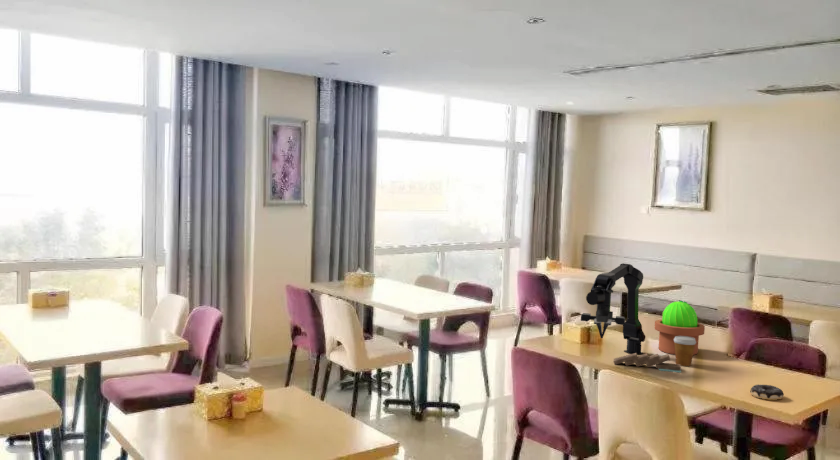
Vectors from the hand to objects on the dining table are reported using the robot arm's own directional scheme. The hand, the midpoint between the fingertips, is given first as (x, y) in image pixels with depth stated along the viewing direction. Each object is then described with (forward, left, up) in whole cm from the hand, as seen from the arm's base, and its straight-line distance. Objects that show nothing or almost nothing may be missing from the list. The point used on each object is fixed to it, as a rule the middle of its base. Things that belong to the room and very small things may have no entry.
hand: (601, 338), depth 312 cm
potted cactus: (-9, +52, -11) cm, 53 cm away
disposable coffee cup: (+12, +36, -11) cm, 39 cm away
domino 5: (+14, +19, -10) cm, 25 cm away
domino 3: (+8, +13, -10) cm, 18 cm away
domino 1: (+2, +6, -10) cm, 12 cm away
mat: (+17, +23, -11) cm, 31 cm away
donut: (+60, +32, -12) cm, 69 cm away
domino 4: (+11, +16, -10) cm, 22 cm away
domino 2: (+6, +9, -10) cm, 15 cm away
